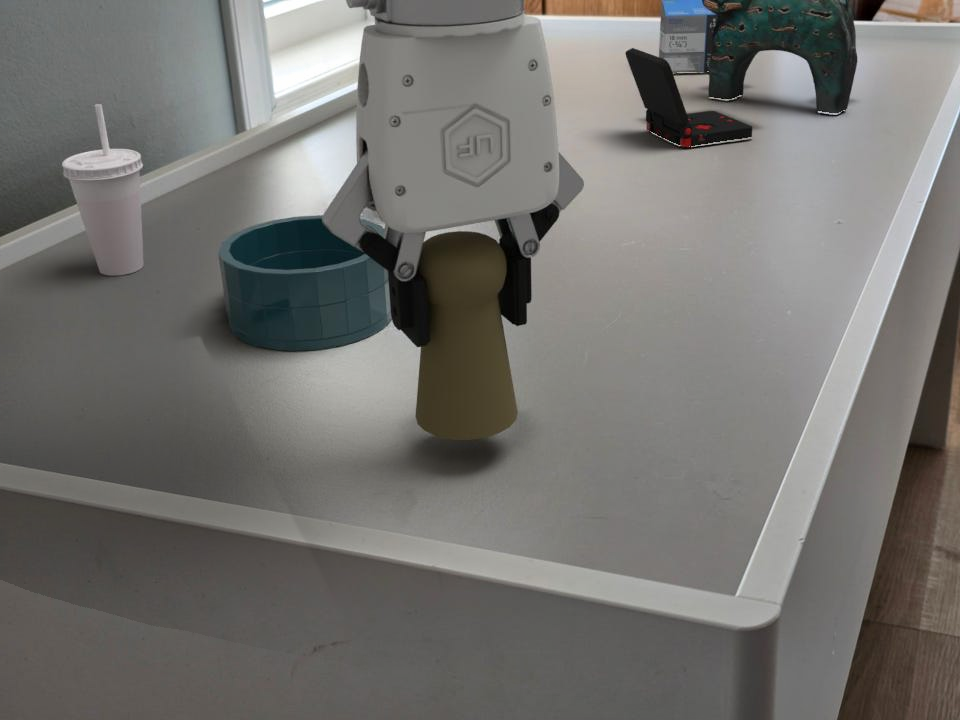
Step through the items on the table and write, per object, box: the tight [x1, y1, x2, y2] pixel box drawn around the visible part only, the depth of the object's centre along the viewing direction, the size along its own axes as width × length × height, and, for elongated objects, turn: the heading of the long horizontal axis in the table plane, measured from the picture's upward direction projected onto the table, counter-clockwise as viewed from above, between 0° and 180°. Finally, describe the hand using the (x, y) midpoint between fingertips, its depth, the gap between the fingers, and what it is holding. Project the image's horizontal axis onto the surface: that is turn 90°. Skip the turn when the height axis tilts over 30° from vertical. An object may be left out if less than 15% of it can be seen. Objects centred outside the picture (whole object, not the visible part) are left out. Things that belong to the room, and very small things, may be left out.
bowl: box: [217, 214, 392, 352], centre depth 85 cm, size 13×13×6 cm
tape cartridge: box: [658, 0, 718, 73], centre depth 159 cm, size 9×4×12 cm, turn 90°
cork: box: [415, 230, 519, 441], centre depth 64 cm, size 6×6×11 cm
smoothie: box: [61, 103, 144, 277], centre depth 94 cm, size 6×6×14 cm
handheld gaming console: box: [625, 47, 753, 148], centre depth 127 cm, size 9×12×10 cm
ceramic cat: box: [702, 0, 858, 113], centre depth 138 cm, size 20×6×20 cm, turn 49°
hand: (462, 324), depth 64 cm, fingers closed on cork, 5 cm apart
